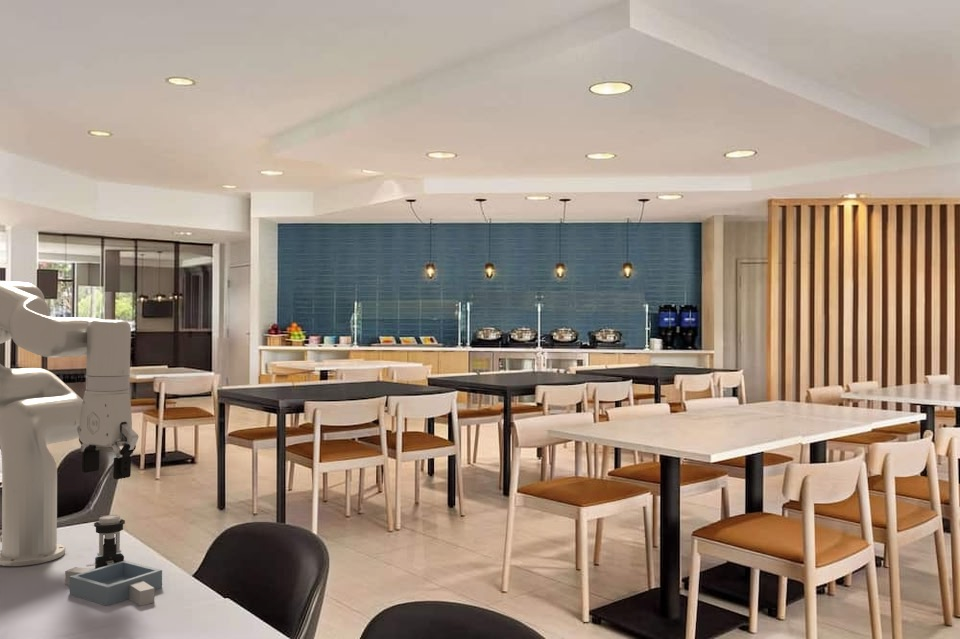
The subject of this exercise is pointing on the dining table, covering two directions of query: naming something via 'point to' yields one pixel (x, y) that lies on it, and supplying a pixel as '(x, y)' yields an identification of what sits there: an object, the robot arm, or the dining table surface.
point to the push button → (108, 540)
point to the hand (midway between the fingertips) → (106, 474)
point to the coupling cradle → (115, 583)
